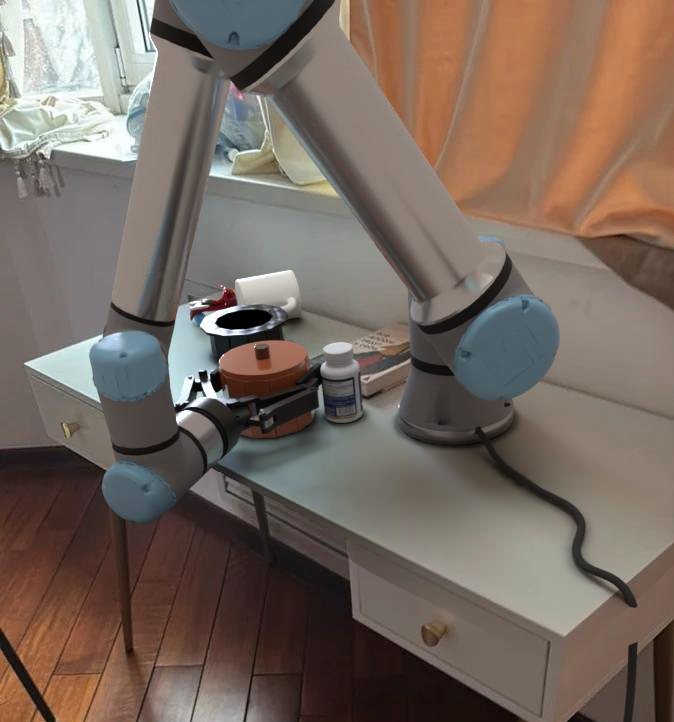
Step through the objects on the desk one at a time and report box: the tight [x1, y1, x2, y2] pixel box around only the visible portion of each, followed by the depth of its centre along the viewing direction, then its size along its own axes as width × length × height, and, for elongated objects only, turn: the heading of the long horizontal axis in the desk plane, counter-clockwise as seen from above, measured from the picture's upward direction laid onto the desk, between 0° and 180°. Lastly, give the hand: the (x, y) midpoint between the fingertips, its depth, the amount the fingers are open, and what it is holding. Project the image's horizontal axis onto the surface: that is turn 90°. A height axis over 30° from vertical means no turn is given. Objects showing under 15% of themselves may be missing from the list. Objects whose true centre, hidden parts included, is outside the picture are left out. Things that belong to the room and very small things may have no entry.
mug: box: [234, 269, 302, 320], centre depth 148 cm, size 12×10×8 cm
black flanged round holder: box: [199, 304, 288, 364], centre depth 139 cm, size 14×14×6 cm
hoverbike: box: [188, 285, 238, 325], centre depth 152 cm, size 5×12×6 cm, turn 99°
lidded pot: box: [218, 340, 316, 439], centre depth 117 cm, size 12×12×10 cm
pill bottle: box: [320, 341, 364, 424], centre depth 116 cm, size 5×5×10 cm
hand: (277, 368), depth 119 cm, fingers closed on lidded pot, 12 cm apart
